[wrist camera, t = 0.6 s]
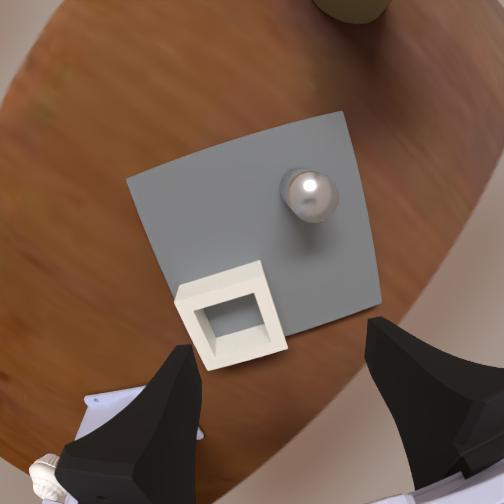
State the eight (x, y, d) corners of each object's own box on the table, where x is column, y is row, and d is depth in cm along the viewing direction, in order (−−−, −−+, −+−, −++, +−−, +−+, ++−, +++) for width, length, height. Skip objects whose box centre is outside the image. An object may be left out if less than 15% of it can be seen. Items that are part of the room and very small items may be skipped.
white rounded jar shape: (30, 441, 28) (13, 480, 22) (69, 452, 29) (54, 495, 22) (47, 467, 30) (34, 503, 24) (84, 477, 31) (73, 516, 24)
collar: (209, 350, 23) (207, 370, 21) (179, 285, 21) (174, 302, 19) (282, 329, 23) (287, 348, 21) (260, 259, 21) (264, 274, 19)
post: (285, 213, 20) (297, 229, 17) (274, 174, 19) (284, 181, 16) (324, 201, 20) (344, 214, 17) (314, 162, 19) (332, 167, 16)
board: (204, 350, 24) (203, 359, 23) (131, 176, 20) (125, 179, 19) (375, 295, 24) (381, 302, 23) (336, 112, 19) (342, 110, 18)
